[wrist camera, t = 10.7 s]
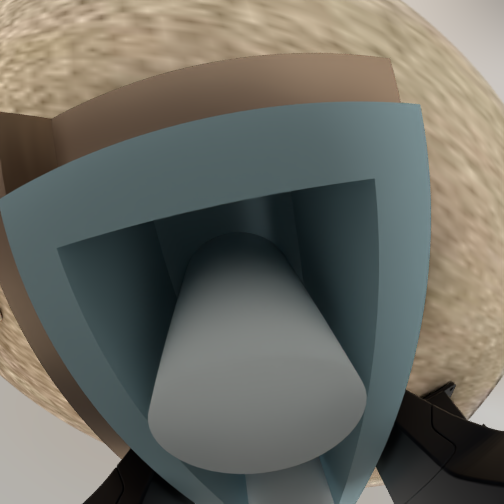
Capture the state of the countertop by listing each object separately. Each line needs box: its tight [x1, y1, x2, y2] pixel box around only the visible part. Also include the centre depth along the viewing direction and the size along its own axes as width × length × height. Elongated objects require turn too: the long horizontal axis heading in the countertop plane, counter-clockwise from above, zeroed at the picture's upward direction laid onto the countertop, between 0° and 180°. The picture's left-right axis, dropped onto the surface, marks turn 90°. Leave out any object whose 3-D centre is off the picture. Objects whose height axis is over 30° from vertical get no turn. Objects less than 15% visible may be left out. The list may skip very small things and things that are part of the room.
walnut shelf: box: [0, 53, 401, 459], centre depth 10 cm, size 20×14×5 cm
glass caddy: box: [0, 102, 431, 504], centre depth 7 cm, size 14×5×6 cm, turn 11°
